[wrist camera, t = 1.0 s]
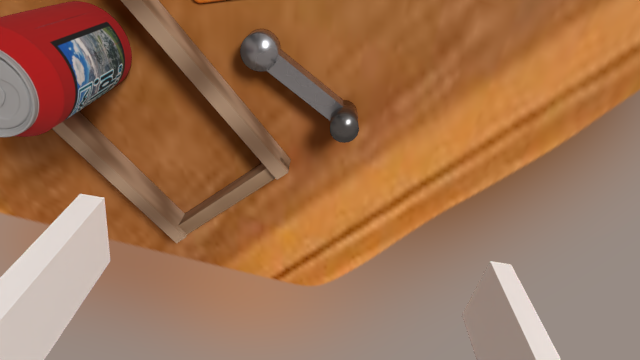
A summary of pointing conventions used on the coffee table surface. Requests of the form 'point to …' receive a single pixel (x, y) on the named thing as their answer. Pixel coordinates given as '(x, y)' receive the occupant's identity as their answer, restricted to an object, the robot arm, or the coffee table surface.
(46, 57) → the beverage can
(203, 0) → the smartphone
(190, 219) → the bay
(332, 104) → the crank handle
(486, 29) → the coffee table surface
